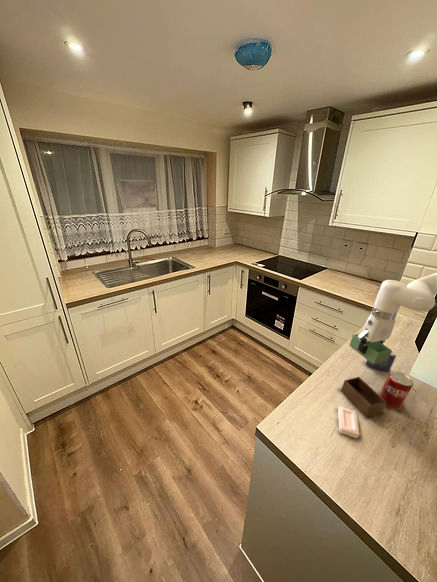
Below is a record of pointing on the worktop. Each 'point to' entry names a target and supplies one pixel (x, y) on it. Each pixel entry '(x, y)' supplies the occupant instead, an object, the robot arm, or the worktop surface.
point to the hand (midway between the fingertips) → (368, 350)
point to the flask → (383, 364)
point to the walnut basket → (363, 397)
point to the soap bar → (348, 422)
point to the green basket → (372, 350)
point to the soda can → (396, 389)
